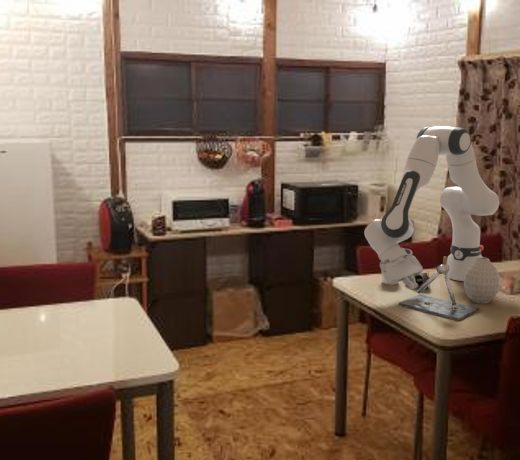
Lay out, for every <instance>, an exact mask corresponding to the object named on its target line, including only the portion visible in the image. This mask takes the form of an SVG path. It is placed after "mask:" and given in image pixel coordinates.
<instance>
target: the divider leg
mask: <svg viewBox="0 0 520 460" xmlns="http://www.w3.org/2000/svg"><path fill="white" fill-rule="evenodd" d="M435 269H436V271H435V272H434V273H433V274H432V275H431V276H429V277H430V278H429V279H428V280H427V281H426V282H425V283H424V284H423V285H422V286H421V287H420V288H417V290H416V293H418V295H419V294H422V293H423V291H424V290H425V289H427V288H428V287H429V284H431V283H433V281H435V280H436V278H438V277H439V276H440V275H444V274H443V273H445V272H446V271H447V268H446V266H445V265H442V264H440V265H439V264H438V266H436V268H435ZM427 286H428V287H427Z"/></svg>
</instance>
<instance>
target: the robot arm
mask: <svg viewBox="0 0 520 460" xmlns="http://www.w3.org/2000/svg"><path fill="white" fill-rule="evenodd" d="M439 155H441V156H443V155H445V157H446V163H447V164H446V165H447V168H448V169H447V170H448V172H449V173H448V174H449V178H450V179H451V181H452V183H453V184H455V185H456V186H448V187H445V188H444V189H443V190H442V191H441V193H440V196H439V203H440V205H441V207H442V208H443V209H444V210H445V211H446V213H447V214H448V217H449V218H450V221H451V225H452V240H451V241H452V242H451V245H450V254H449V255H448V256H447V263H446V264H448V265H449V268H450V269H449V271H448V275H449V279H451V280H454V281H459V282H464V276H465V273H466V271H467V269H468V267H469V266H470V265H471V264H472V263H473V262H475V261H476V260H477V259H478V258H479V257H483V256H482V251H484V245H482V244H480V243H481V242H480V241H481V227H480V226H479V225H478V224H477V223H476V222H475V221H474V220H473V218H472V215H473V216H474V215H475V216H480V217H481V216H492V215H494V214H495V213H496V212H497V211H498V209H499V206H500V198H499V195H498V194H497V193H496V192H495V191H493V190H492V189H491V188H489V187H488V186H487V185H486V183H485V181H483V178H482V177H481V175H480V172H479V169H478V166H477V160H476V154H475V151H474V147H473V144H472V136H471V134H470V132H469V130H467V129H466V128H464V127H460V126H458V127H455V126H450V125H449V126H446V125H442V126H432V125H431V126H426V127H422V128H421V129H420V130H419V132H418V133H417V136H416V139H415V141H414V143H413V145H412V146H411V149H410V152H409V154H408V155H407V159H406V162H405V164H404V168H403V169H404V170H403V174H402V177H401V181H400V184H399V186H398V189H397V191H396V195H395V197H394V199H393V202H392V205H391V207H390V208H389V209H388V210H387V211H386V212H385V213H384V215H383V216H382V219H377V218H376V219H374V220H372V221H370V222H369V223H368V224H367V225H366V226H365V229H364V232H363V233H364V237H365V239H366V241H367V243H368V244H369V245H370V248H371V249H372V250H374V251H375V253H376V254H377V256H378V258H379V260H380V262H379V268H380V270H381V274H382V273H383V275H384V277H385V279H386V280H387V282H388V283H389V284H388V285H390V284H394V283H397V282H399V283H400V282H402V283H403V284H404V285H405V286H407V287H408V288H409V289H410V290H413V289H417V288H416V287H417V286H418V285H417V283H416V281H415V277H414V276H417V275H419V274H420V273H421V272H424V269H423V266H422V265H421V262H420V261H419V260H418V259H417V258H416V256H415V255H413V251H412V250H411V249H409V248H403V247H400V245H399V244H400V243H402V242H404V241H406V240H408V239H410V237H412V235H413V234H414V232H415V231H414V230H415V225H414V223H413V221H412V220H411V219H410V218H409V212H410V209H411V205H412V203H413V201H414V197H415V195H416V193H417V191H418V190H420V189H421V188H422V187H424V186H426V185H427V184H428V183H430V182H431V179H432V178H433V176H434V174H435V170H436V166H437V164H438V160H439ZM394 285H395V284H394Z"/></svg>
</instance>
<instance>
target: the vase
mask: <svg viewBox="0 0 520 460" xmlns="http://www.w3.org/2000/svg"><path fill="white" fill-rule="evenodd" d="M463 287H464V290H465V293H466V295H467V297H468V298H469V299H470V301H471V302H473V303H476V304H488V303H490V302H491V301H492V300H493V299H494V298H495V297H496V295H497V294H498V293H499V290H500V287H501V277H500V274H499V271H498V269H497V267H496V266H495V265H494V264H493V262H491V260H490V259H489V258H488V257H485V256H482V257H479V258H478V259H477V260H476V261H475V262H473V263H472V264H471V265H470V266H469V267H468V269H467V271H466V273H465V276H464V281H463Z"/></svg>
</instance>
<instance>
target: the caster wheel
mask: <svg viewBox="0 0 520 460" xmlns="http://www.w3.org/2000/svg"><path fill="white" fill-rule="evenodd" d="M414 277H415V281H416V283H417V285H418V286H417V287H416V288H415V289H419V288H420V287H421V286H422V285H423V284H424V283H425V282H426V281H427V280H428V279H429V278H430V277H431V276H430V274H429V272H428V271H422V272H421V273H420V274H419V275H417V276H414ZM430 284H431V283H430ZM430 284H429V285H428V286H427V287H426V288H429V289H430V288H431V286H430Z"/></svg>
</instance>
